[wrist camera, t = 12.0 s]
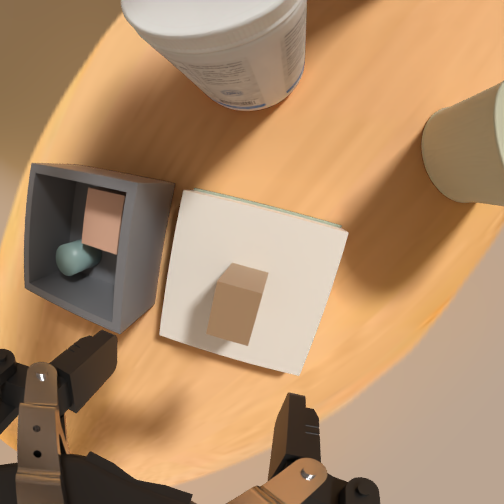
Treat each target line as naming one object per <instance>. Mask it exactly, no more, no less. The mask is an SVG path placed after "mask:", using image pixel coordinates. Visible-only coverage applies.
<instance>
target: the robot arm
mask: <svg viewBox="0 0 504 504" xmlns="http://www.w3.org/2000/svg"><path fill="white" fill-rule="evenodd" d="M116 365H117V337H116V336H115V335H113V334H110V333H108V332H106V331H104V330H101V331H99V332H98V333H97V334H96V335H95V336H93V337H92V336H87V337H84V338H81V339H79V340H78V341H77V342H76V343H74V345H72V346H70V347H69V348H68V349H67V350H65V351H64V352H63V353H62V354H60V355H59V356H58V357H57V358H55V359H54V360H53V361H52V362H50V363H49V364H48V363H44V362H38V363H34V364H32V365H31V366H30V367H29V366H26V365H22V364H20V363H17V362H16V361H15V357H14V354H13V353H12V352H11V351H9V350H6V349H0V434H1V433H2V432H3V431H4V430H5V429H6V428H7V427H8V425H9V424H10V423H11V422H12V421H13V420H14V419H15V418H16V417H17V416H18V415H19V416H18V439H17V454H18V456H17V459H18V463H11V464H4V465H0V504H196V503H194V502H193V501H191V498H192V494H190V493H187V492H183V491H181V490H177V489H175V488H172V487H169V486H166V485H161V484H155V483H150V482H144V481H140V480H136V479H134V478H133V477H131V476H130V475H129V474H127V473H126V472H124V471H123V470H122V469H120V468H119V467H118V466H116V465H115V464H114V463H112V462H110V461H108V460H106V459H104V458H102V457H100V456H98V455H97V454H95V453H93V452H91V451H90V452H89V454H88V455H87V456H82V455H76V454H70V452H69V447H68V439H67V429H66V417H65V412H66V411H67V410H68V409H69V410H71V411H73V412H75V413H77V412H78V411H79V410H80V409H81V408H82V407H83V406H84V405H85V403H86V402H87V401H88V400H89V399H90V398H91V397H92V396H93V395H94V393H95V392H96V391H97V390H98V389H99V388H100V387H101V386H102V385H103V384H104V382H105V381H106V380H107V379H108V378H109V377H110V376H111V375H112V374H113V372H114V371H115V368H116ZM319 434H320V433H319V418H318V416H317V414H316V412H315V411H314V409H310V408H306V399H305V396H303V395H298V394H294V393H288V394H287V396H286V398H285V401H284V403H283V405H282V407H281V410H280V412H279V414H278V417H277V419H276V423H275V427H274V435H273V443H272V451H271V459H270V467H269V474H268V482H266V483H265V484H264V485H262V486H260V487H259V486H255V487H252V488H251V489H249V490H247V491H246V492H244V493H243V494H241V495H240V496H238V497H236V498H235V499H233V500H231V501H230V502H228V503H226V504H380V497H379V489H378V487H377V486H376V484H375V483H374V482H373V481H371V480H369V479H366V478H362V477H360V478H359V477H358V478H354V479H352V480H350V481H349V482H346V481H344V480H340V479H338V478H335V477H333V476H331V475H329V474H328V473H327V470H326V468H325V466H324V465H323V464H322V463H321V456H320V436H319Z"/></svg>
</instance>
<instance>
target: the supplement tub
mask: <svg viewBox="0 0 504 504" xmlns="http://www.w3.org/2000/svg"><path fill="white" fill-rule="evenodd" d="M121 7H122V12H123V14H124V17H125V18H126V20H127V21H128V22H129V23H130V25H131V26H132V27H134V29H135V30H136V32H137V33H138V34H139V35H140V37H141V38H143V39H144V40H145V41H146V42H147V43H149V44H150V45H151V46H152V47H153V48H154V49H155V50H156V51H158V52H159V53H160V54H161V55H162V56H164V57H165V58H166V59H167V60H168V61H169V62H171V63H172V64H173V65H174V66H175V67H176V68H177V69H179V70H180V71H181V72H182V73H183V74H184V75H185V76H186V77H188V78H189V79H190V80H191V81H192V82H193V83H194V84H195V85H196V86H198V87H199V88H200V89H201V90H202V91H203V92H204V93H205V94H206V95H207V96H208V97H210V98H211V99H212V100H213V101H215V102H216V103H218V104H220V105H222V106H224V107H227V108H229V109H233V110H239V111H254V110H260V109H264V108H267V107H270V106H273V105H275V104H277V103H279V102H280V101H282V100H283V99H285V98H286V97H287V96H288V95H289V94H290V93H291V92H292V91H293V90H294V89H295V87H296V86H297V84H298V83H299V81H300V79H301V77H302V74H303V70H304V63H305V43H306V14H307V0H121Z"/></svg>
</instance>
